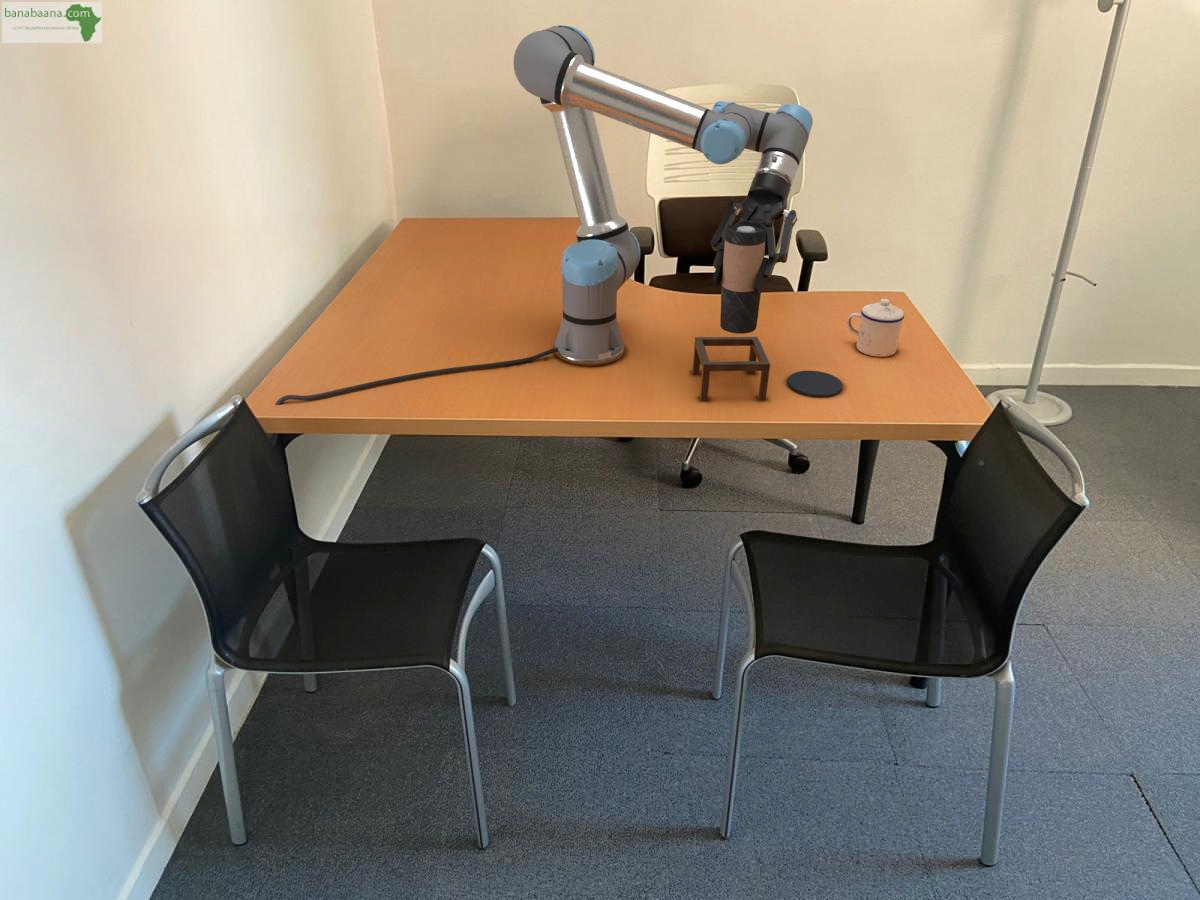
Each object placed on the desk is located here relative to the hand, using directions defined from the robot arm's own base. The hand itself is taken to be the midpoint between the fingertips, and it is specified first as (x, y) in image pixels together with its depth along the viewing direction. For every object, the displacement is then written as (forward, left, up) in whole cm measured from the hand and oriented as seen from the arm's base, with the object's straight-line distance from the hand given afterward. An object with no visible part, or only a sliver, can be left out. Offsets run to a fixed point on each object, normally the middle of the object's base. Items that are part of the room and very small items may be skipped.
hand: (735, 287), depth 164 cm
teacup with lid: (+36, +21, -22) cm, 47 cm away
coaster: (+19, +3, -22) cm, 29 cm away
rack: (+1, +3, -22) cm, 23 cm away
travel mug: (+2, +3, -9) cm, 10 cm away
